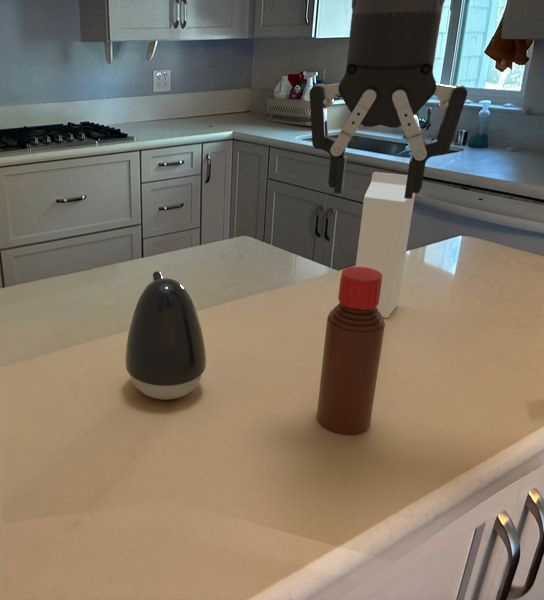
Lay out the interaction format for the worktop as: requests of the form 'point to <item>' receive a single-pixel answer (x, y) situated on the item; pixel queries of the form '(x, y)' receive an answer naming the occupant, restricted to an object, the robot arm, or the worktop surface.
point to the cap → (360, 288)
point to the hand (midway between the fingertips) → (372, 193)
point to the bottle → (350, 369)
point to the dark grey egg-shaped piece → (165, 341)
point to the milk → (385, 234)
